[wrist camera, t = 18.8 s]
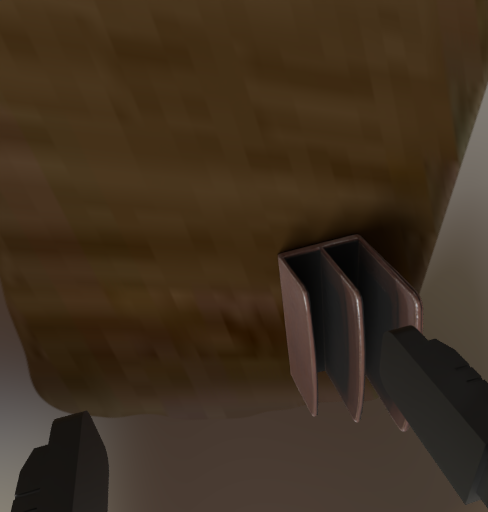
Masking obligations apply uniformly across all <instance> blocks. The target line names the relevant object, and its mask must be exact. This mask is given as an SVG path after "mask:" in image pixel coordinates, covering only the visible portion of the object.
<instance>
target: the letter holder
mask: <svg viewBox="0 0 488 512" xmlns="http://www.w3.org/2000/svg"><path fill="white" fill-rule="evenodd" d="M278 260H279V269H280V278H281V288H282V298H283V307H284V317H285V326H286V335H287V336H286V337H287V344H288V353H289V361H290V370H291V375H292V377H293V379H294V381H295V383H296V385H297V387H298V389H299V391H300V393H301V395H302V397H303V399H304V401H305V403H306V405H307V406H308V408H309V410H310V412H311V414H312V415H313V416H316V415H318V380H317V372H321V371H326V373H327V374H328V376H329V378H330V379H331V381H332V383H333V384H334V386H335V388H336V390H337V391H338V393H339V395H340V397H341V399H342V400H343V402H344V404H345V405H346V408H347V409H348V411H349V413H350V415H351V417H352V419H353V420H354V421H355V422H359V420H360V419H361V414H362V408H363V401H364V387H365V375H366V376H367V378H368V380H369V381H370V383H371V384H372V386H373V388H374V389H375V391H376V392H377V394H378V396H379V397H380V399H381V400H382V402H383V404H384V405H385V407H386V409H387V410H388V412H389V414H390V415H391V417H392V418H393V420H394V422H395V423H396V425H397V426H398V428H399V429H400V430H401V431H403V432H405V431H406V430H408V429H409V426H410V425H409V423H408V422H407V420H406V419H405V418H404V416H403V415H402V413H401V412H400V410H399V409H398V408H397V406H396V405H395V403H394V402H393V400H392V399H391V398H390V396H389V395H388V393H387V392H386V390H385V388H384V386H383V384H382V381H381V377H380V359H381V348H382V338H383V334H384V332H386V331H390V330H394V329H397V328H401V327H405V326H408V325H412V326H414V327H416V328H417V329H418V330H419V331H420V332H421V334H422V335H423V305H422V300H421V298H420V296H419V294H418V293H417V291H416V290H415V289H414V288H413V287H412V286H411V285H410V284H409V283H408V282H407V281H406V280H405V279H404V278H403V277H402V276H401V275H400V274H399V273H398V272H397V271H396V270H395V269H394V268H393V267H392V266H391V265H390V264H389V263H388V262H387V261H386V260H385V259H384V258H383V257H382V256H381V255H380V254H379V253H378V252H377V251H376V250H375V249H374V248H372V247H371V246H370V245H369V244H368V243H367V242H366V241H365V240H364V239H363V237H362V236H360V235H358V234H355V235H351V236H346V237H343V238H339V239H334V240H331V241H327V242H323V243H319V244H315V245H311V246H307V247H304V248H299V249H296V250H292V251H288V252H284V253H280V254H278Z"/></svg>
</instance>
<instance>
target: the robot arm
mask: <svg viewBox="0 0 488 512" xmlns="http://www.w3.org/2000/svg"><path fill="white" fill-rule="evenodd" d="M380 377H381V381H382V384H383V386H384V388H385V390H386V392H387V393H388V395H389V396H390V398H391V399H392V400H393V402H394V403H395V405H396V406H397V408H398V409H399V410H400V412H401V413H402V415H403V416H404V418H405V419H406V420H407V422H408V423H409V425H410V426H411V427H412V429H413V430H414V432H415V433H416V435H417V436H418V437H419V439H420V440H421V442H422V443H423V445H424V446H425V448H426V449H427V451H428V452H429V453H430V455H431V456H432V457H433V459H434V460H435V462H436V463H437V465H438V466H439V468H440V469H441V471H442V472H443V473H444V475H445V476H446V478H447V479H448V480H449V482H450V483H451V485H452V486H453V488H454V489H455V491H456V492H457V493H458V495H459V496H460V498H461V499H462V501H463V502H464V504H465V505H466V504H469V503H472V502H475V501H478V500H482V501H483V502H484V504H485V505H486V507H487V508H488V383H487V382H486V381H485V380H482V378H481V376H480V375H479V374H478V373H477V372H476V371H475V370H474V369H473V368H472V367H470V366H469V364H468V363H467V362H466V361H465V360H464V359H463V358H462V357H461V356H460V355H459V354H458V353H457V352H456V350H454V349H453V348H451V347H449V346H447V345H446V344H444V343H442V342H440V341H438V340H437V339H432V340H429V341H428V340H427V339H426V338H425V337H424V336H423V335H422V334H421V332H420V331H419V330H418V329H417V328H416V327H414V326H412V325H408V326H405V327H401V328H397V329H394V330H390V331H386V332H384V334H383V338H382V348H381V359H380ZM108 481H109V464H108V457H107V452H106V449H105V446H104V444H103V442H102V439H101V437H100V435H99V433H98V431H97V429H96V427H95V425H94V422H93V420H92V418H91V416H90V414H89V413H88V412H87V411H83V412H80V413H76V414H72V415H68V416H65V417H61V418H57V419H55V420H54V421H53V424H52V427H51V432H50V438H49V443H48V445H45V446H41V447H38V448H34V450H33V451H32V453H31V454H30V456H29V458H28V459H27V461H26V463H25V464H24V466H23V468H22V469H21V471H20V474H19V479H18V483H17V487H16V492H15V500H14V501H13V505H12V509H11V512H107V511H108V484H109V482H108Z"/></svg>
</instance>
